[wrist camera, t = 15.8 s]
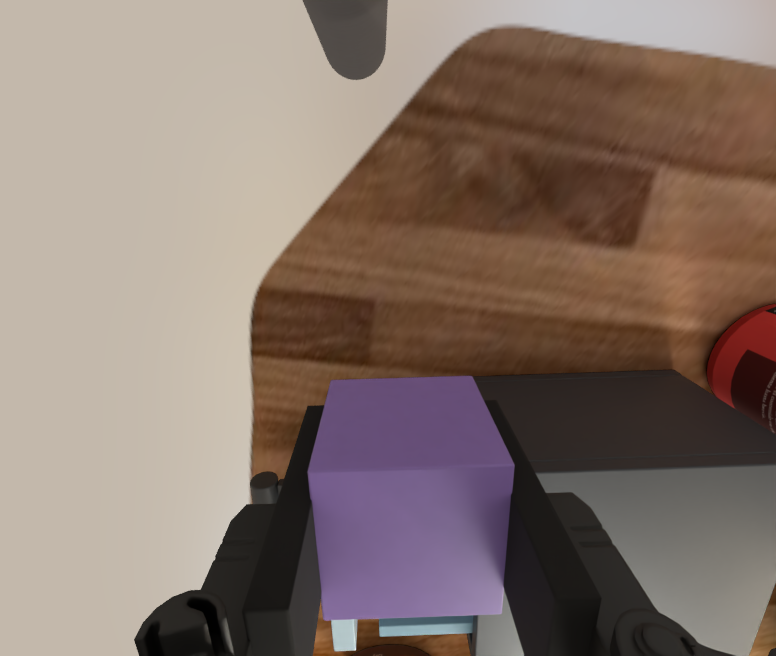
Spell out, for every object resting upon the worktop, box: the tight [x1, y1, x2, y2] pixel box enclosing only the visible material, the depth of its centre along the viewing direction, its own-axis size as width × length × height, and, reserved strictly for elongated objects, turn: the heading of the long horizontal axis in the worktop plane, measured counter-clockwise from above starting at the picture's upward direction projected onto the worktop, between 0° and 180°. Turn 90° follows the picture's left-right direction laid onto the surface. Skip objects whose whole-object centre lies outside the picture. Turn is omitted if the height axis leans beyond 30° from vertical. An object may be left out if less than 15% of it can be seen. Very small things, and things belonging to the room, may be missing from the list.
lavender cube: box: [308, 376, 515, 620], centre depth 12 cm, size 4×4×4 cm
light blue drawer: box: [250, 472, 473, 651], centre depth 25 cm, size 18×11×8 cm, turn 92°
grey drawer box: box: [467, 370, 776, 656], centre depth 25 cm, size 15×13×10 cm
